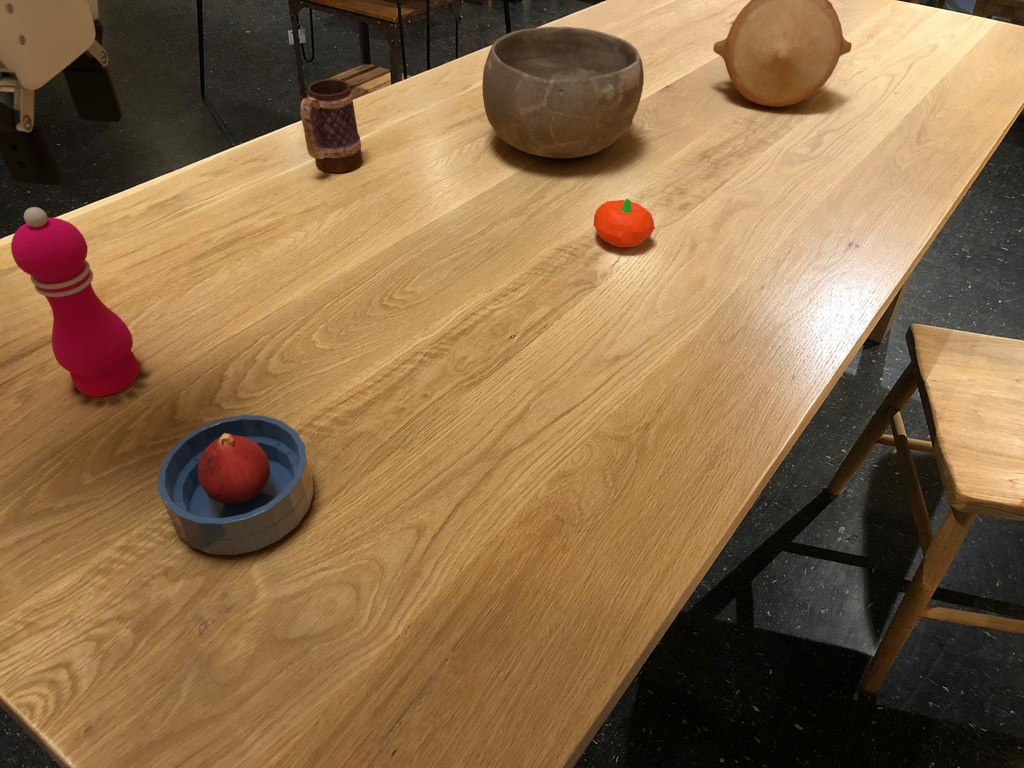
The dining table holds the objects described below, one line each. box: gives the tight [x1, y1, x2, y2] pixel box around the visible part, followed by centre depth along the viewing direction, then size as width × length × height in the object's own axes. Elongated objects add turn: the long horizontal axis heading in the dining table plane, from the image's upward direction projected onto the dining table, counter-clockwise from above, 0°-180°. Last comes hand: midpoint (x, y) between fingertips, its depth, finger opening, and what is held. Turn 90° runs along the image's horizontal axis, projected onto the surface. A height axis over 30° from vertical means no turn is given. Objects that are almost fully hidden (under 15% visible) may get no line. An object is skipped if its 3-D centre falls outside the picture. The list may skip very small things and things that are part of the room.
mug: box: [300, 78, 363, 174], centre depth 111 cm, size 10×7×12 cm
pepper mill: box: [10, 206, 140, 397], centre depth 74 cm, size 7×7×20 cm
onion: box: [198, 433, 270, 504], centre depth 66 cm, size 6×6×8 cm
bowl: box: [481, 26, 645, 159], centre depth 117 cm, size 24×24×15 cm
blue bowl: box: [157, 414, 315, 556], centre depth 67 cm, size 12×12×5 cm
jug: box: [712, 0, 853, 108], centre depth 136 cm, size 20×19×30 cm
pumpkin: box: [593, 198, 656, 249], centre depth 100 cm, size 7×8×6 cm
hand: (72, 148), depth 56 cm, fingers open, 9 cm apart
